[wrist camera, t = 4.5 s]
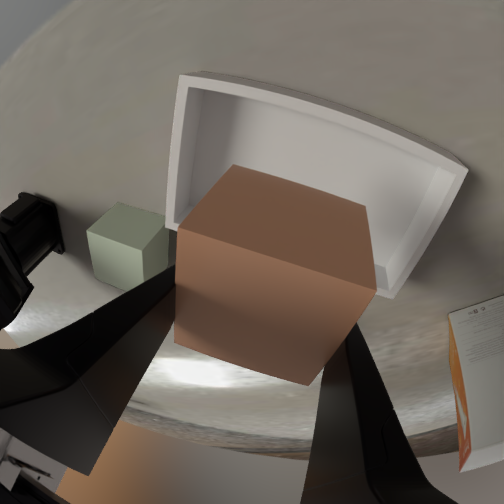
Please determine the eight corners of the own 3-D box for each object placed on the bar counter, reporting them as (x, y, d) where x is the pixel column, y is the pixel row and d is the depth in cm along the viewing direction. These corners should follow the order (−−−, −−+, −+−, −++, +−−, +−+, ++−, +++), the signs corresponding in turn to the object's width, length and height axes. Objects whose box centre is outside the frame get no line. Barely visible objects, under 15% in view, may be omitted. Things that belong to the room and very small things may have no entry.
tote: (388, 271, 21) (392, 299, 19) (183, 206, 22) (165, 227, 20) (450, 152, 15) (468, 169, 12) (201, 70, 16) (179, 74, 13)
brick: (320, 299, 13) (308, 385, 10) (215, 266, 14) (174, 342, 10) (365, 205, 10) (377, 291, 7) (233, 164, 11) (177, 227, 7)
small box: (446, 312, 22) (470, 453, 12) (506, 292, 19) (549, 423, 9) (447, 360, 25) (458, 474, 15) (498, 344, 23) (520, 454, 12)
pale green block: (168, 264, 26) (145, 299, 23) (121, 247, 26) (95, 278, 23) (170, 217, 23) (141, 250, 20) (118, 201, 23) (86, 230, 20)
